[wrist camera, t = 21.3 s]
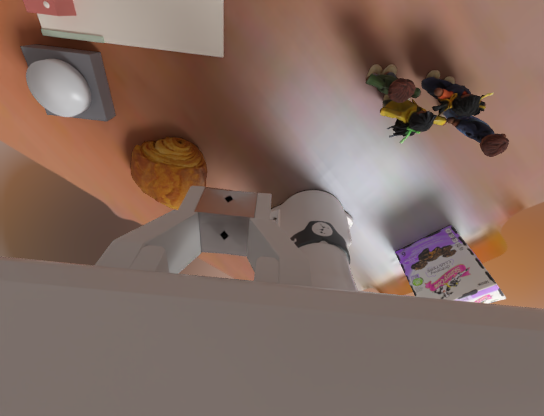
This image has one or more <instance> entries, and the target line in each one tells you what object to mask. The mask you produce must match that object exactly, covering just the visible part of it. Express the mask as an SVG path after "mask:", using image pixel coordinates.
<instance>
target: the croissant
mask: <svg viewBox="0 0 544 416" xmlns="http://www.w3.org/2000/svg"><path fill="white" fill-rule="evenodd" d="M130 167H131V175H132V178H133V180H134V181H135V183H136V184H137V185H138V186H139V187H140V188H141V190H142V191H143V192H144V193H145V194H147V195H149V196H150V197H152V198H154V199H155V200H156V201H158V202H160V203H162V204H164V205H166V206H167V207H169V208H172V209H179V207H180V205H181V203H182V202H183V200H184V198H185V196H186V194H187V192H188V190H189V189H190V187H191V186H203V187H206V177H207V167H206V163H205V160H204V158H203V155H202V153H201V152H200V151H199V149H198V148H197V147H196V146H195V145H194V144H192V143H190V142H189V141H186V140H184V139H182V138H176V137H172V138H169V137H166V139H160V140H158V141H149V142H148V141H147V142H145V141H144V143H143V144H142V145H141V146H139V145H136V146H135V148H134V149H133V151H132V160H131V163H130Z"/></svg>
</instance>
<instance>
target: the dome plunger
mask: <svg viewBox="0 0 544 416" xmlns="http://www.w3.org/2000/svg"><path fill="white" fill-rule="evenodd" d="M26 80H27V84H28V87H29V89H30V91H31V93H32V95H33V96H34V97H35V99H36V100H37V101H38V102H39V103H40V104H41V105H42V106H43V107H44V108H46V109H47V110H49V111H50V112H52V113H54V114H56V115H59V116H63V117H73V116H76V115H78V114H80V113H82V112H84V111H85V110H87V109H88V107H89V106H90V103H91V92H90V88H89V86H88V84H87V82H86V80H85V79H84V77H83V76H82V75H81V74H80V73H79V72H78V71H77V70H76V69H75V68H74V67H73V66H71V65H70V64H68V63H66V62H64V61H62V60H59V59H45V60H40V61H36V62H34V63H32V64H31V65H30V66H29V67H28V69H27V73H26Z"/></svg>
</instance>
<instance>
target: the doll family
mask: <svg viewBox="0 0 544 416" xmlns="http://www.w3.org/2000/svg"><path fill="white" fill-rule="evenodd" d="M396 73H397V68H396V66H395V65H388V66H387V67H386V68H385V69H384V70H383V72H382V67H381V66H380V65H378V64H375V65H373V66H372V67H371V68H370V70H369V72H368V75H367V77H366V84H369V85H372V86H375V87H377V89H378V90H379V91H380V92H382V93H384V94H385V95H384V99H383V108H382V109H381V110H380V115H382V116H387V117H391V118H395V117H396V118H397V120H396V123H395V125H394V126H391V127H389V128H387V129H390V128H394V129H393V131H395V132H396V133H393V135H391V136H389V138H390V137H393V136H398V135H403V136H406V137H405V138H403V139H402V140H401V141H400V143H403V141H404V140H405V139H406V138H407V137H408V136H412V135H414V134H415V132H416V133H420V131H421V132H423V131H427V130H428V129H429V128H430V127H431V126H432V125H433V124H437V125H445V124H446V123H447V122H448V123H451V124H452V125H453V126H455V127H456V128H457V129H458V130H459V131H460V132H462V133H463V134H464V135H466V136H467V137H469V138H471V139H474V140H476V141H477V142H479V143H480V147H481V150H482V151H483V153H484V154H485V155H486V156H489V157H493V156H496V155H498V154H500V153H502V152H504V151H505V150H506V149H507V147H508V144H509V143H508V142H509V140H508V139H507V138H506V135H505V134H494V131H493V130H492V129H491V128H490V126H489V125H488V124H487V123H485V122H484V121H482V120H480V119H478V118H476V117H474V116H475V115H478V114H479V113H480V110H481V111H484V109H485V108H486V107H485V105H486V104H485V102H482V101H481V100H482V99H483V98H485V97H487V96H490V95H493V92H492V93H488V94H486V95H482V96H481V97H480V96H477V95H473V94H471V92H470V91H469V89H467V88H466V87H465V86H460V85H458V84H455V79H454V78H453V77H451V76H449V77H446V78H445V79H444V80H441V79H439V77H440V72H439V71H437V70H433V71H431V72H429V74H428V75H427V78H426V79H424V80H423V81H422V83H421V84H422V88H423V89H425V90H426V91H427V92H428V93H429V94H430V95H432V96H433V97H435V98H436V99H438V100H439V102H440V103H441V104H442V105H440V106H433V107H432V108H433V110H434V111H438V110H439V115H440V114H441V116H442V117H441V116H439V115H438V116H437V115H433V113H432V112H430V111H426V110H425V109H423V108H421V107H419V106H418V105H417V104H416V102H415V101H414V100H413V99H412V102H413V103H412V102H411V101H409V100H410V97H413V98H417V97H419V96H420V95H421V91H420V89H419V88H416V87H415V85H414V83H413V82H412V81H411V80H408V79H403V78H400V79H398V78H396ZM472 115H474V116H472ZM445 117H446V118H447V119H446V118H445Z"/></svg>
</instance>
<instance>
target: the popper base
mask: <svg viewBox="0 0 544 416" xmlns="http://www.w3.org/2000/svg"><path fill="white" fill-rule="evenodd" d="M20 47H21V49H22V52H23V54H24V57H25V59H26V62H27V64H28V67H29V66H30V65H31V64H32V63H34V62H36V61H40V60H45V59H59V60H62V61H64V62H66V63H68V64H70V65H71V66H73V67H74V68H75V69H76V70H77V71H78V72H79V73H80V74H81V75H82V76H83V77H84V79H85V80H86V82H87V84H88V86H89V88H90V92H91V103H90V106H89V107H88V109H87V110H85V111H84V112H82V113H80V114H78V115H76V116H73V118H82V119H91V120H100V121H108V120H110V119H112V118H113V117H115V116H116V114H115V110H114V106H113V102H112V98H111V94H110V90H109V86H108V81H107V77H106V73H105V69H104V65H103V61H102V57H101V53H100V52H95V51H86V50H78V49H70V48H62V47H54V46H46V45H37V44H34V45H26V46H20ZM45 110H46V113H47V115H56V114H54V113H52V112H50V111H49V110H47V109H46V108H45ZM56 116H59V115H56Z"/></svg>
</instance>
